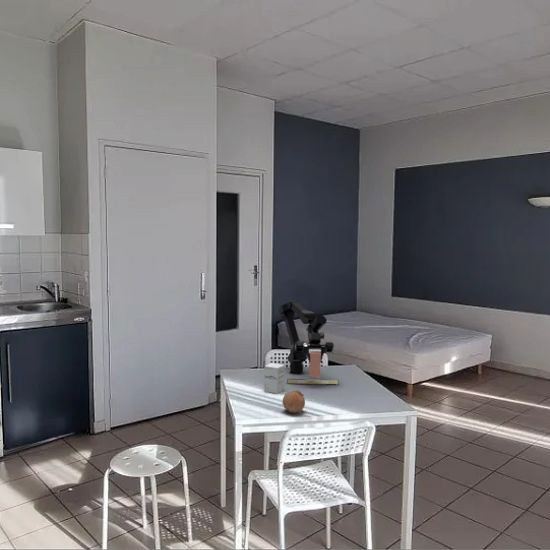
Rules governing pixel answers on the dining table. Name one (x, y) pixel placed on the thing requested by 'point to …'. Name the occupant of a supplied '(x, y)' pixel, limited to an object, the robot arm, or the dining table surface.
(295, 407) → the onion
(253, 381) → the dining table surface
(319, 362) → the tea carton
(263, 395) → the dining table surface
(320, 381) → the price rail
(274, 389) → the supplement box
